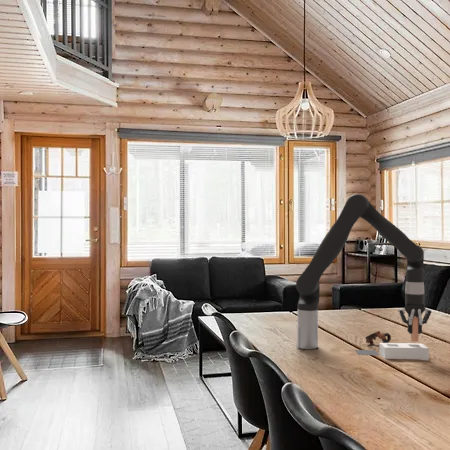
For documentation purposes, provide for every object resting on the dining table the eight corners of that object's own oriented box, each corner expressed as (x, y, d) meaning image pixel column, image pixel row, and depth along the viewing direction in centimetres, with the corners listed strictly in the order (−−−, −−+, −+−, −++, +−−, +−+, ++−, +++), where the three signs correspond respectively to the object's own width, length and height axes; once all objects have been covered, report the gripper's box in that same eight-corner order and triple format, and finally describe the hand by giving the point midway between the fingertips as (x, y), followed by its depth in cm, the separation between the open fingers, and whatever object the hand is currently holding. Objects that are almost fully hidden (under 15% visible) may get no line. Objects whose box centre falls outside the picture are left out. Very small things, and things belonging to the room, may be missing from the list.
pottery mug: (378, 351, 242) (369, 334, 245) (368, 356, 250) (359, 339, 253) (399, 342, 247) (390, 325, 250) (388, 347, 255) (379, 331, 258)
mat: (358, 355, 232) (358, 354, 232) (354, 350, 241) (354, 349, 241) (379, 356, 231) (379, 355, 231) (374, 351, 240) (374, 350, 240)
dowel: (412, 341, 228) (412, 317, 228) (410, 339, 231) (410, 316, 231) (419, 341, 228) (419, 317, 228) (417, 340, 231) (417, 316, 231)
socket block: (384, 359, 225) (384, 347, 225) (379, 354, 234) (379, 342, 234) (428, 360, 225) (428, 348, 225) (421, 355, 234) (421, 343, 234)
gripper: (400, 293, 226) (400, 335, 226) (434, 293, 225) (434, 335, 225) (395, 291, 233) (395, 331, 233) (428, 291, 233) (428, 332, 233)
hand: (414, 333), depth 229 cm, fingers closed on dowel, 3 cm apart
